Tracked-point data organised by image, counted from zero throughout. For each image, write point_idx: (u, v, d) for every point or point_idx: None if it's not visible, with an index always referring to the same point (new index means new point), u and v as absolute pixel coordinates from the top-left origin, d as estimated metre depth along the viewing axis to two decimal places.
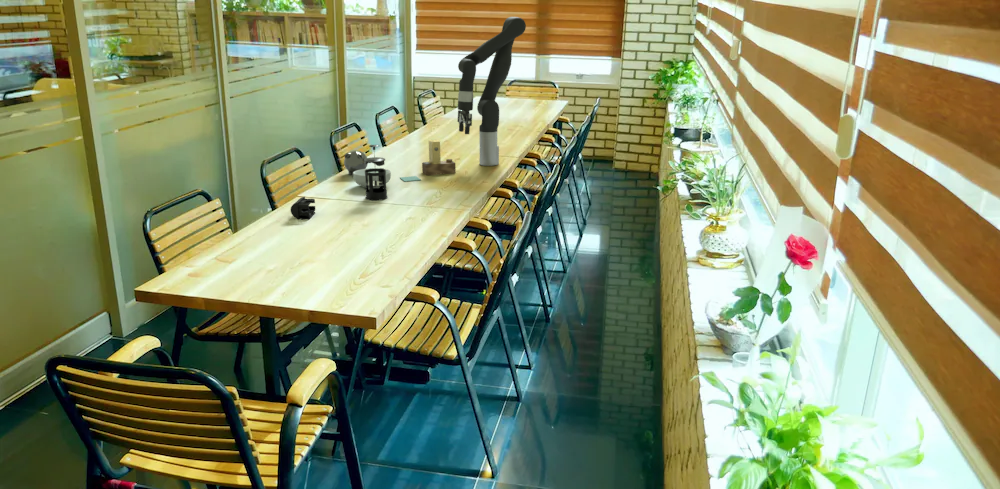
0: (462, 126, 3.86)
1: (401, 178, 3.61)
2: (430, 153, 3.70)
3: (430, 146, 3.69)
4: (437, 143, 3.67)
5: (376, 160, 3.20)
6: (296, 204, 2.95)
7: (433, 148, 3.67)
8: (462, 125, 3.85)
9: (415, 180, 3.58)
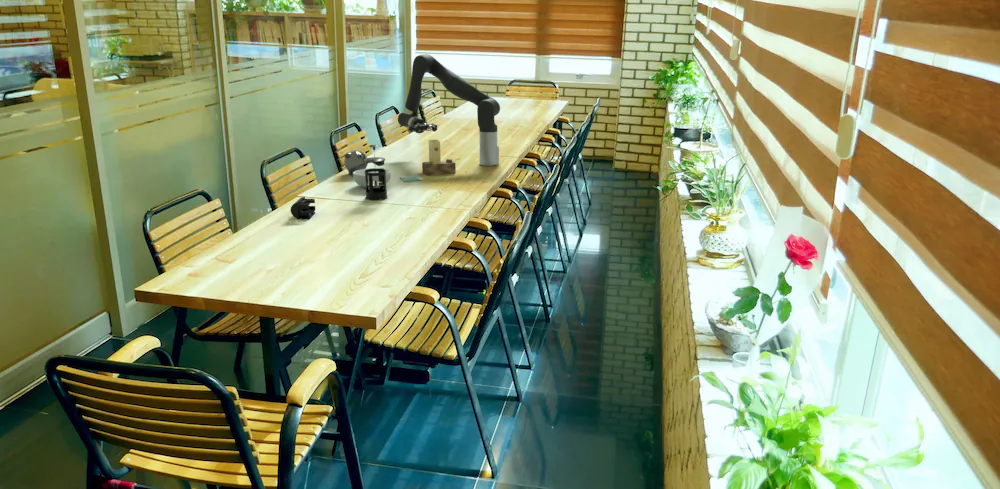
0: (432, 127, 3.81)
1: (401, 178, 3.61)
2: (430, 153, 3.70)
3: (430, 146, 3.69)
4: (437, 143, 3.67)
5: (376, 160, 3.20)
6: (296, 204, 2.95)
7: (433, 148, 3.67)
8: (432, 127, 3.81)
9: (415, 180, 3.58)
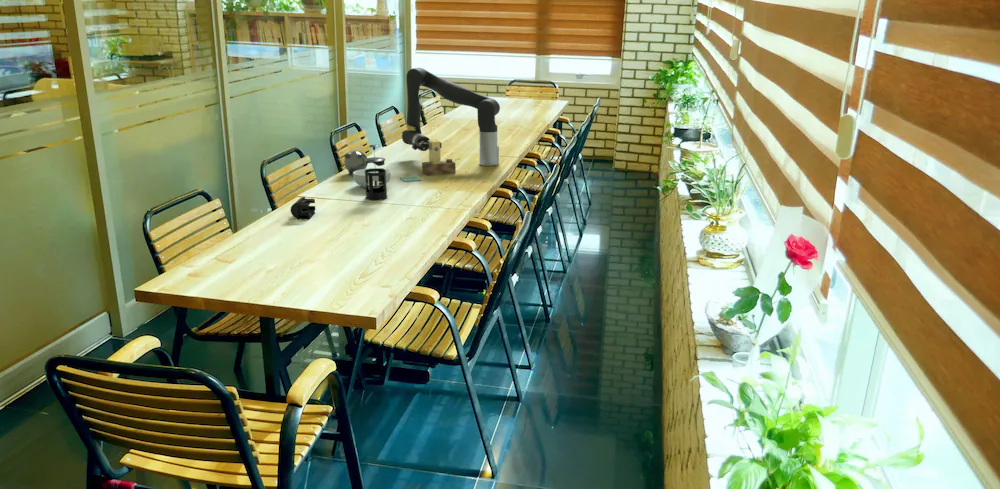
0: None
1: (401, 178, 3.61)
2: (430, 153, 3.70)
3: (430, 146, 3.69)
4: (437, 143, 3.67)
5: (376, 160, 3.20)
6: (296, 204, 2.95)
7: (433, 148, 3.67)
8: None
9: (415, 180, 3.58)
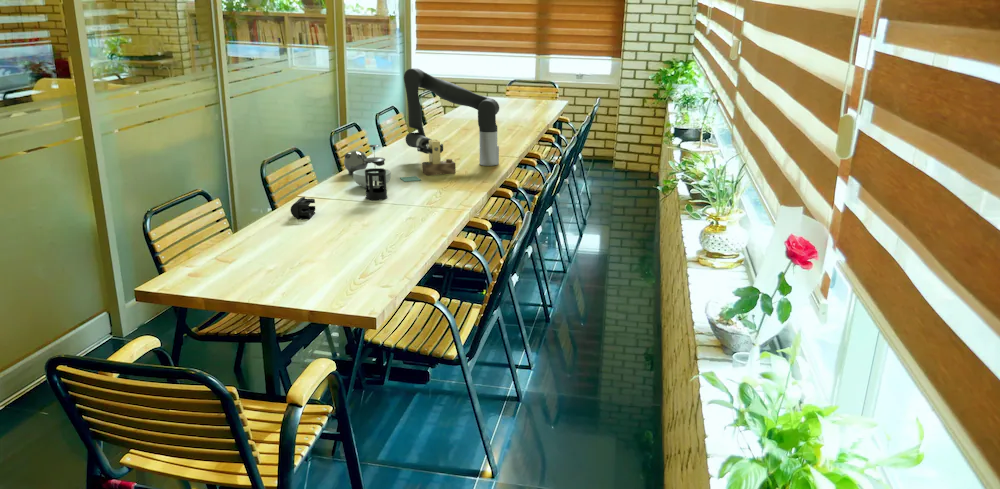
0: None
1: (401, 178, 3.61)
2: (430, 153, 3.70)
3: (430, 146, 3.69)
4: (437, 143, 3.67)
5: (376, 160, 3.20)
6: (296, 204, 2.95)
7: (433, 148, 3.67)
8: None
9: (415, 180, 3.58)
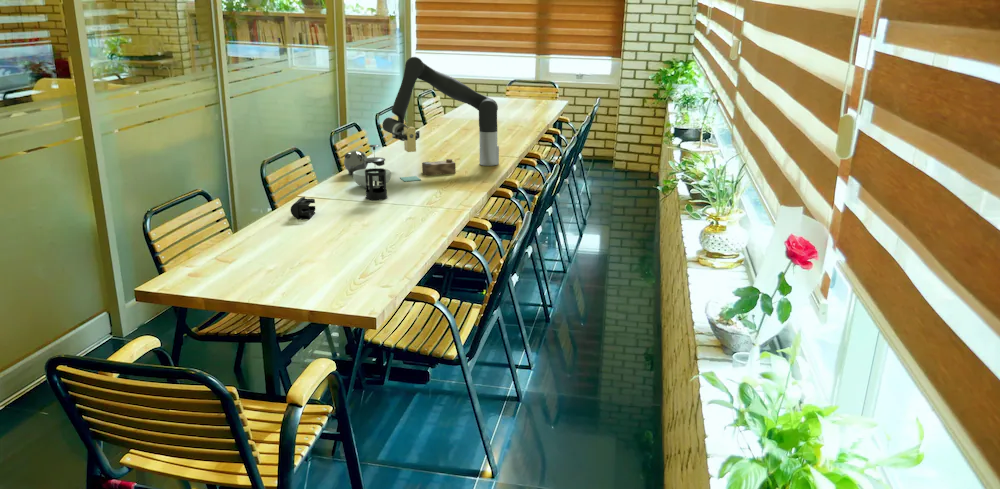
0: None
1: (401, 178, 3.61)
2: (405, 140, 3.56)
3: (405, 133, 3.55)
4: (412, 130, 3.53)
5: (376, 160, 3.20)
6: (296, 204, 2.95)
7: (408, 135, 3.53)
8: None
9: (415, 180, 3.58)
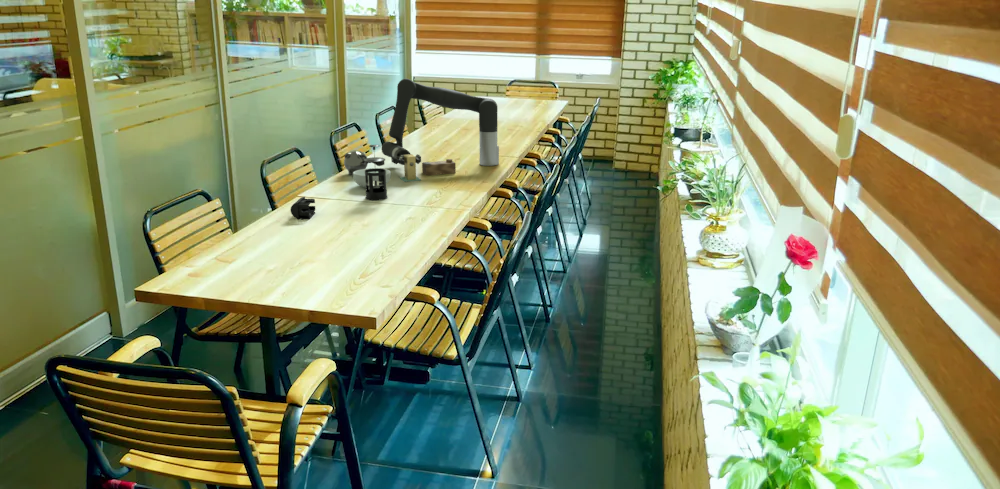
0: (416, 159, 3.60)
1: (401, 178, 3.61)
2: (405, 168, 3.59)
3: (405, 161, 3.58)
4: (412, 158, 3.56)
5: (376, 160, 3.20)
6: (296, 204, 2.95)
7: (408, 163, 3.56)
8: None
9: (415, 180, 3.58)
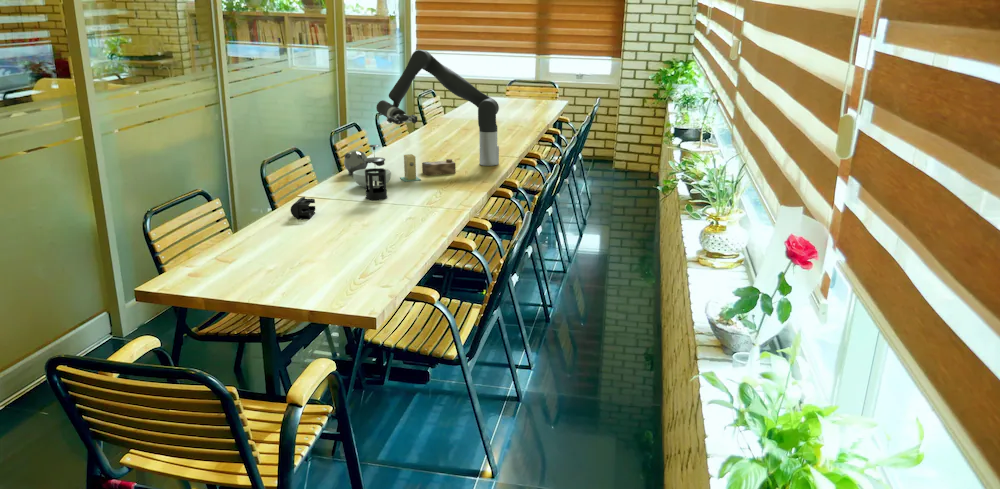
0: (412, 119, 3.69)
1: (401, 178, 3.61)
2: (405, 168, 3.59)
3: (405, 161, 3.58)
4: (412, 158, 3.56)
5: (376, 160, 3.20)
6: (296, 204, 2.95)
7: (408, 163, 3.56)
8: (412, 119, 3.69)
9: (415, 180, 3.58)
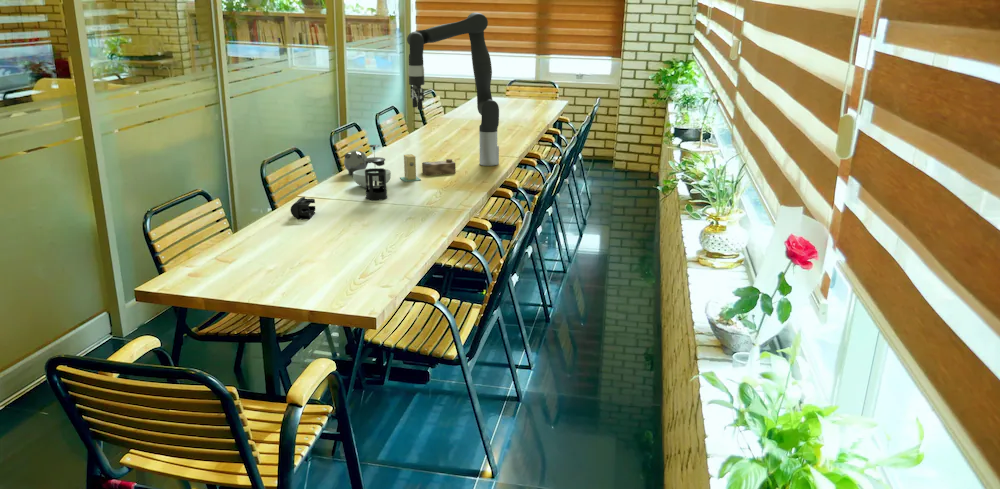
0: (415, 102, 3.77)
1: (401, 178, 3.61)
2: (405, 168, 3.59)
3: (405, 161, 3.58)
4: (412, 158, 3.56)
5: (376, 160, 3.20)
6: (296, 204, 2.95)
7: (408, 163, 3.56)
8: (415, 101, 3.77)
9: (415, 180, 3.58)
